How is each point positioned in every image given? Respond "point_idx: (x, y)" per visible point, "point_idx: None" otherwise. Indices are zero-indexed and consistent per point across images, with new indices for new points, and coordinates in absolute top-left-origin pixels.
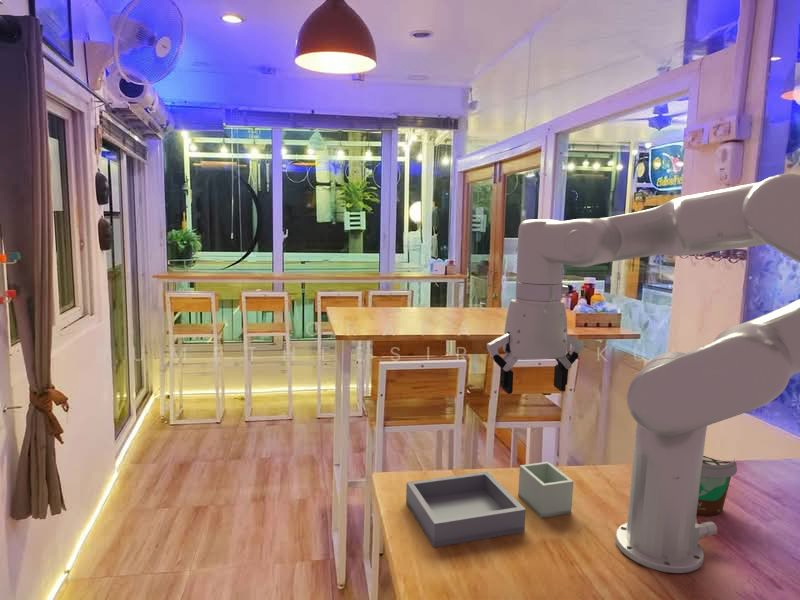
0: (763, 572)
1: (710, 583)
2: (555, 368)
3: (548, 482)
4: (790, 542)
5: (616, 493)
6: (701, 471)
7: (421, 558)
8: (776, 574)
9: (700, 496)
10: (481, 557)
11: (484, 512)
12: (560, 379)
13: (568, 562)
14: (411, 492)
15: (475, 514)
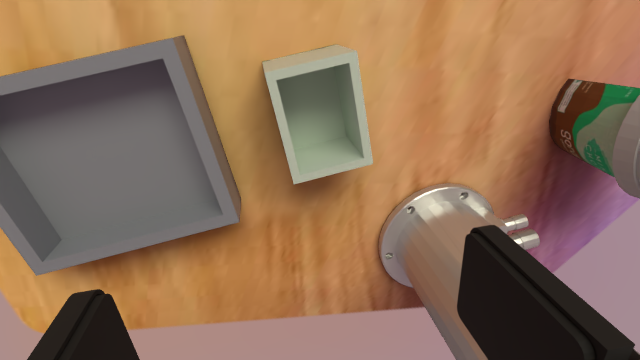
0: None
1: None
2: (563, 344)
3: (339, 68)
4: (618, 214)
5: (485, 61)
6: (638, 196)
7: None
8: None
9: (594, 166)
10: (152, 264)
11: (147, 235)
12: (499, 356)
13: (289, 267)
14: None
15: (127, 242)
